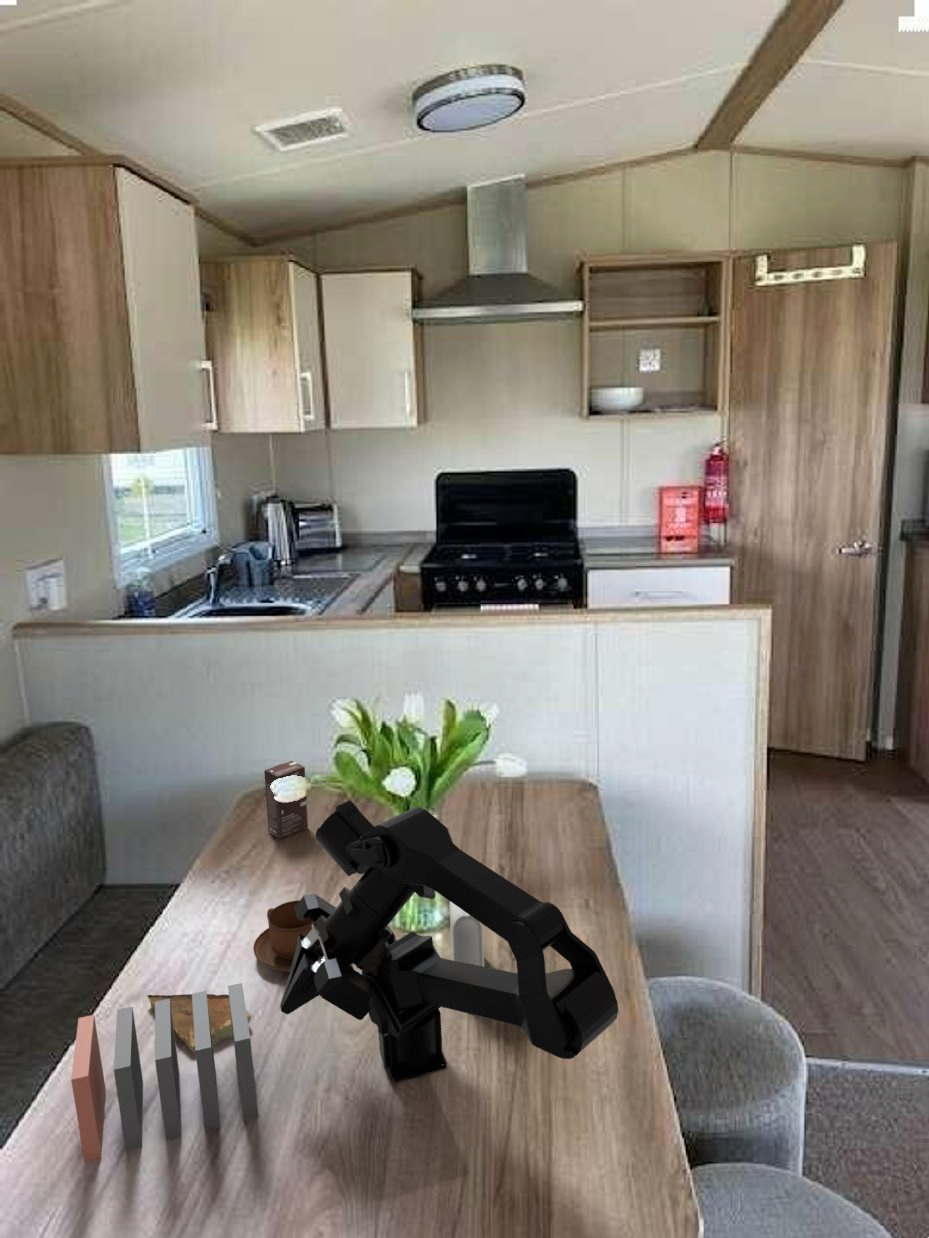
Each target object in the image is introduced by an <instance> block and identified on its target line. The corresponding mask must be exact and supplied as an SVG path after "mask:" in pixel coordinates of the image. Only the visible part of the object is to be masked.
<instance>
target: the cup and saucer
mask: <svg viewBox="0 0 929 1238" xmlns="http://www.w3.org/2000/svg"><path fill="white" fill-rule="evenodd" d="M300 900H301V899H300ZM300 900H290V901H288V902H284V903H282V904H280V905H277V906H276V907H274V908H273V907H271V908H269V909H268V910H267V912H266V913H267V914H266V917H267V920H268V921H267V922H268V923H267V924H268V928H266V929H265V930H263V932H261V933H259V935H258V937H257V938H256V939H255V941H254V942H253V949H252V950H253V955H254V956H255V959H256V960H257V961H258V962H259V963H260V964H262V966H265V967H267V968H269V969H271V970H274V971H279V972H289V973H290V970H291V966H292V962H293V959H294V955H295V951H296V947H297V943H298V940H297V938H298V936H299V935H303V936H304V937H306V936H307V935H308V934H309V932H310V931H311V930H312V925H313V924H315V925H316V922H315V921H313V920H312V919H310V918H309V917H307V918H306V919H304V920H299V919H297V916H296V913H295V909H294V907H295V906H296V905H297V903H298V902H299V901H300Z"/></svg>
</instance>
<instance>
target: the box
mask: <svg viewBox="0 0 929 1238" xmlns="http://www.w3.org/2000/svg"><path fill="white" fill-rule="evenodd" d="M291 775H297V776H302V777H305V778H306V767H305V766H304V765H301V764H300V763H297V762H295V761H294V760H289V761H287V762H284V763H281V764H280V763H279V764H277V765H275V766H273V767H270V768H267V769H264V783H265V786H264V787H265V799H266V814H267V815H266V816H267V828H268V829H267V830H268V832H269V833H270V834H272V835H273V836H275V837H277V838H279V839H283V838H286V837H288V836H291V835H293V834H295V833H298V832H300V831H302V830H306V829H307V828H308V827H309V824H308V823H309V822H308V821H309V820H308V807H307V805H308V804H307V795H306V796H305V797H304V798H302V799H300V800H298V801H293V802H289V803H281V802H278V801H276V800H275V799H274V794H273V792H272V791H271V789H270V785H271V783H272V782H273V781H274V780H276V779H278V778H283V777H286V776H291Z"/></svg>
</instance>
